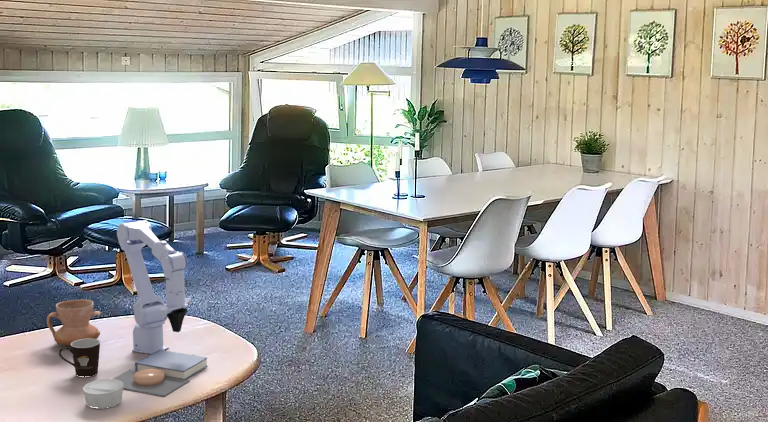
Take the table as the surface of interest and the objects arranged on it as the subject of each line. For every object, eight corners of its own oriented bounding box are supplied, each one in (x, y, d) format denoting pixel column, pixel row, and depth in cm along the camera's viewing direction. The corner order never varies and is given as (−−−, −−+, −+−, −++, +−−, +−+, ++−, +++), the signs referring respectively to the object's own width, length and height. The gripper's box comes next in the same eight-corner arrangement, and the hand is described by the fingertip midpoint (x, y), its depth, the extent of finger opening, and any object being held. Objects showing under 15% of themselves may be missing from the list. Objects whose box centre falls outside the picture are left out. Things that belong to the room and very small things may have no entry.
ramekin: (85, 413, 240) (84, 395, 239) (81, 398, 250) (80, 381, 249) (126, 407, 245) (126, 390, 244) (121, 393, 255) (121, 376, 254)
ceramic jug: (108, 336, 304) (105, 297, 301) (96, 350, 289) (93, 309, 287) (56, 337, 303) (53, 298, 300) (41, 351, 289) (38, 310, 286)
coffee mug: (107, 370, 272) (105, 340, 270) (89, 380, 264) (88, 349, 262) (76, 366, 275) (75, 336, 273) (58, 375, 267) (56, 344, 265)
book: (135, 371, 271) (134, 362, 271) (160, 358, 283) (159, 349, 283) (183, 380, 265) (183, 371, 264) (207, 366, 277) (207, 357, 276)
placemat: (102, 385, 260) (102, 383, 260) (130, 370, 272) (129, 369, 272) (164, 396, 252) (164, 395, 252) (189, 381, 264) (189, 380, 264)
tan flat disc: (127, 382, 261) (127, 376, 261) (146, 373, 269) (146, 367, 269) (152, 387, 258) (151, 381, 257) (170, 377, 266) (170, 371, 266)
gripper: (172, 297, 268) (174, 339, 270) (198, 286, 281) (199, 326, 284) (153, 295, 270) (155, 336, 273) (180, 284, 284) (181, 323, 286)
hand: (176, 331), depth 278 cm, fingers closed
